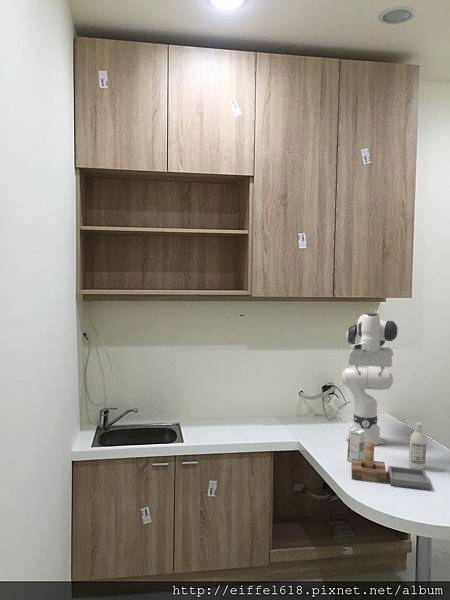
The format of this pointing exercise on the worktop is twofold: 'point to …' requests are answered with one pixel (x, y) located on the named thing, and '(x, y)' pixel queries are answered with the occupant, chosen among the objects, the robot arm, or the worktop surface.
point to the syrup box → (356, 444)
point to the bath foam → (417, 448)
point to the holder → (369, 471)
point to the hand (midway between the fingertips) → (369, 375)
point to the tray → (408, 478)
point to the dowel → (369, 455)
